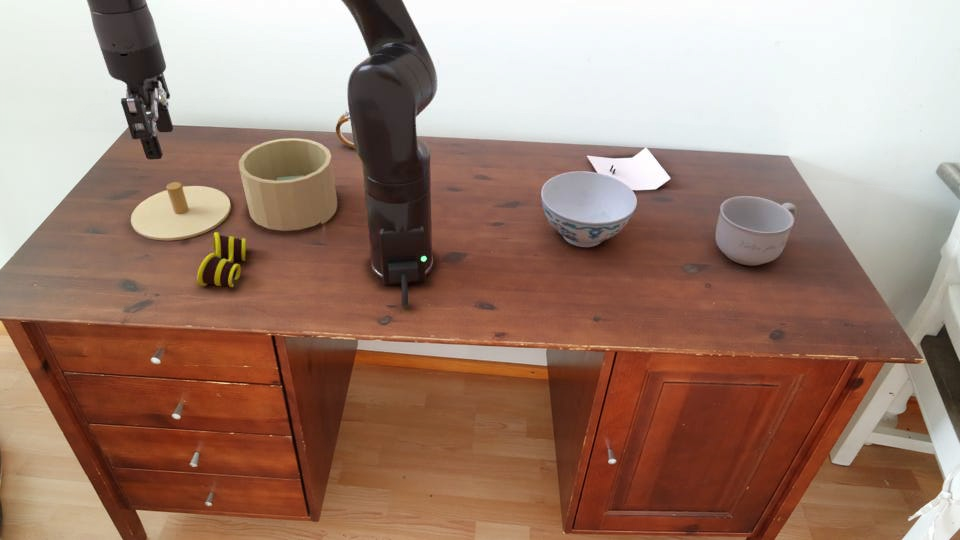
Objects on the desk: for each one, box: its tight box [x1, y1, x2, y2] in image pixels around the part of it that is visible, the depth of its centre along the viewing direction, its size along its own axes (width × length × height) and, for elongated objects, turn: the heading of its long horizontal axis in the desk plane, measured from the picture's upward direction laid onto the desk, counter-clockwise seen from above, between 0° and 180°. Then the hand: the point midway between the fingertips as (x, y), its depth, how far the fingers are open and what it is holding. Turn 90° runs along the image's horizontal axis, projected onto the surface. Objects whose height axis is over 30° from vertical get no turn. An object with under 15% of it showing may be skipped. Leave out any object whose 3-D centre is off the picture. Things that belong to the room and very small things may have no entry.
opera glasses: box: [196, 231, 247, 288], centre depth 97 cm, size 10×5×5 cm, turn 4°
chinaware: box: [540, 170, 638, 248], centre depth 106 cm, size 15×15×8 cm
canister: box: [238, 137, 338, 232], centre depth 109 cm, size 14×15×10 cm
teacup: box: [715, 195, 798, 266], centre depth 104 cm, size 14×11×8 cm
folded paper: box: [586, 147, 671, 191], centre depth 123 cm, size 12×12×2 cm
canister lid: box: [130, 181, 232, 242], centre depth 107 cm, size 15×15×6 cm
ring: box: [335, 110, 356, 150], centre depth 126 cm, size 7×3×8 cm, turn 82°
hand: (160, 144), depth 101 cm, fingers open, 8 cm apart
